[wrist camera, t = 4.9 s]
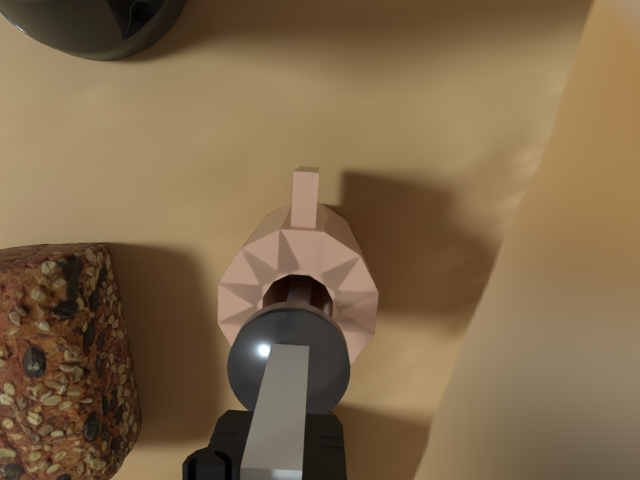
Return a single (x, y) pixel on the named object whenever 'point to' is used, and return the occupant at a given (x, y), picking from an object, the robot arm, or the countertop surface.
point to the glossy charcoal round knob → (291, 329)
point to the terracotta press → (302, 267)
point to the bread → (63, 365)
